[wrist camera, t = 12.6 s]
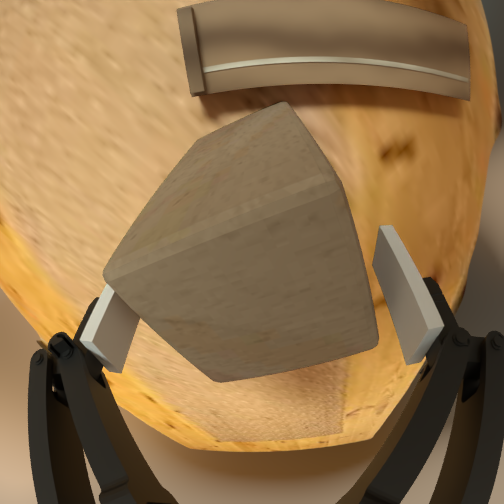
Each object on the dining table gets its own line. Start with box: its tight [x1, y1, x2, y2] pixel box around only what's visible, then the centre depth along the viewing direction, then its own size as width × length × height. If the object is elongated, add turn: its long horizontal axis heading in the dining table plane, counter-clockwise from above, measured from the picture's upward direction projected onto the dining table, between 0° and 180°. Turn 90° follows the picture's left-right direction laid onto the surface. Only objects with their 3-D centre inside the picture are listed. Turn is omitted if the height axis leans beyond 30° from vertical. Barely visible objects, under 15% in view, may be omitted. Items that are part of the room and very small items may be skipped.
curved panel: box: [177, 0, 470, 101], centre depth 17 cm, size 9×28×4 cm, turn 97°
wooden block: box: [103, 102, 379, 383], centre depth 19 cm, size 10×10×20 cm
